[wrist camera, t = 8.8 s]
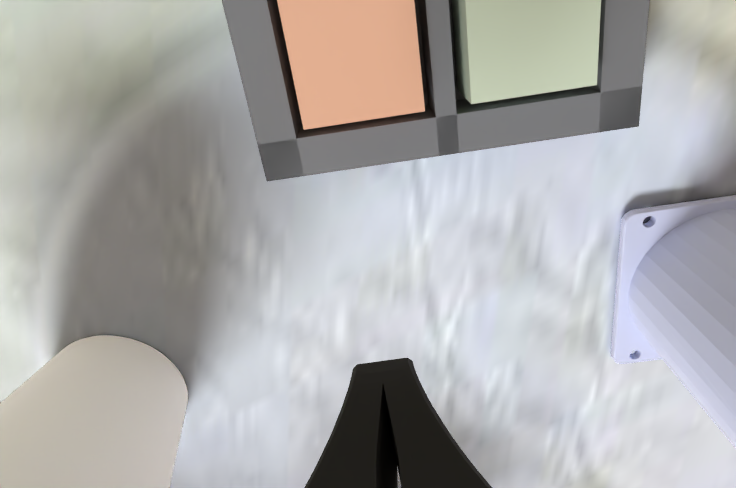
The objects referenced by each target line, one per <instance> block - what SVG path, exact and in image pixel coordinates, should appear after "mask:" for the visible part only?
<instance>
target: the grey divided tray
mask: <svg viewBox="0 0 736 488" xmlns="http://www.w3.org/2000/svg"><path fill="white" fill-rule="evenodd" d="M649 2H650V0H601V12H600V33H599V53H598V73H597V85H594V86H587V87H581V88H574V89H568V90H561V91H555V92H548V93H542V94H535V95H528V96H522V97H515V98H509V99H502V100H496V101H489V102H483V103H476V104H471V103H470V102H469V101H468V100H467V99H466V98H465V97H464V96H463V95H462V94H461V93H460V92H459V91H458V84H457V69H456V54H455V40H454V25H453V10H452V0H414V3H415V13H416V23H417V33H418V44H419V54H420V64H421V74H422V85H423V95H424V105H425V111H424V112H417V113H411V114H404V115H398V116H391V117H385V118H378V119H371V120H365V121H358V122H352V123H345V124H339V125H332V126H326V127H319V128H312V129H306V130H304V129H303V124H302V119H301V114H300V109H299V105H298V100H297V95H296V90H295V85H294V80H293V75H292V71H291V66H290V61H289V56H288V51H287V46H286V41H285V36H284V32H283V27H282V22H281V17H280V12H279V7H278V2H277V0H222V3H223V7H224V11H225V15H226V19H227V23H228V27H229V31H230V35H231V39H232V43H233V47H234V51H235V55H236V59H237V63H238V67H239V71H240V75H241V79H242V83H243V87H244V91H245V95H246V99H247V103H248V107H249V111H250V116H251V120H252V124H253V128H254V132H255V136H256V140H257V144H258V148H259V152H260V156H261V160H262V164H263V168H264V172H265V176H266V180H267V181H273V180H279V179H286V178H293V177H300V176H306V175H313V174H320V173H327V172H333V171H340V170H347V169H354V168H361V167H367V166H374V165H381V164H388V163H394V162H401V161H408V160H415V159H421V158H428V157H435V156H442V155H448V154H455V153H462V152H469V151H475V150H482V149H489V148H496V147H502V146H509V145H516V144H523V143H529V142H536V141H543V140H550V139H556V138H563V137H570V136H577V135H583V134H590V133H597V132H604V131H610V130H617V129H624V128H631V127H637V126H639V116H640V105H641V93H642V82H643V71H644V59H645V48H646V36H647V25H648V13H649Z"/></svg>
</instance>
